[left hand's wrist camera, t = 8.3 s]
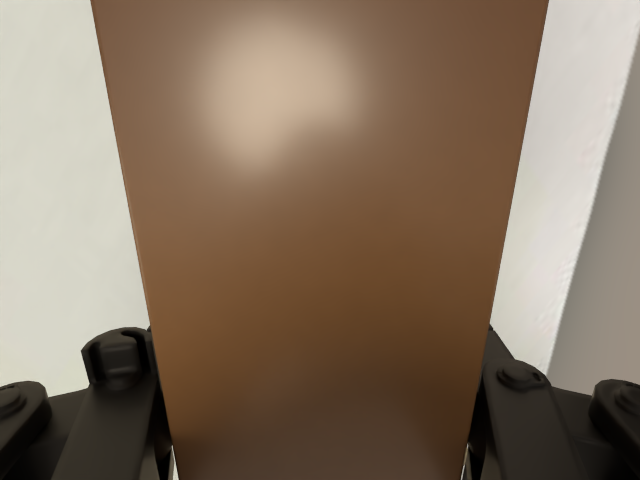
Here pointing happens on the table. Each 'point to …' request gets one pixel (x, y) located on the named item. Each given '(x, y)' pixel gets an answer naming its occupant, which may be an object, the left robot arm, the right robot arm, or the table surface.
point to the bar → (319, 220)
